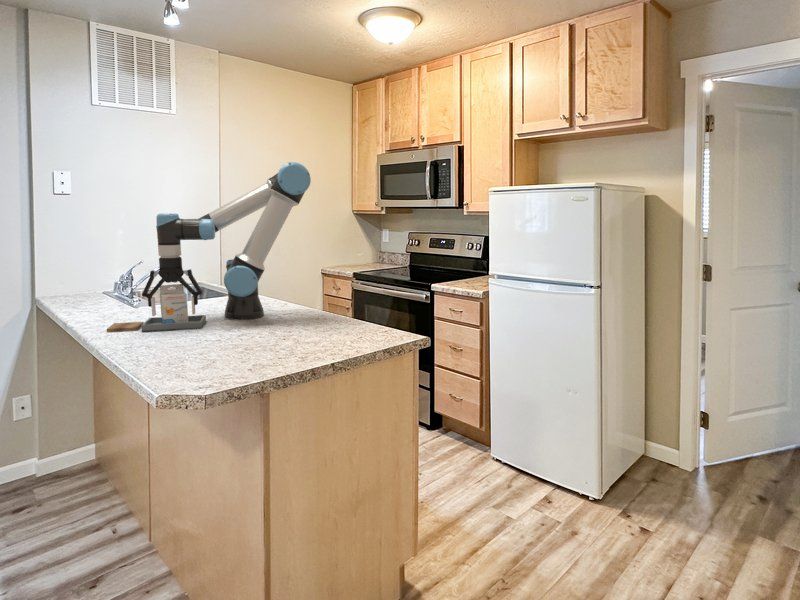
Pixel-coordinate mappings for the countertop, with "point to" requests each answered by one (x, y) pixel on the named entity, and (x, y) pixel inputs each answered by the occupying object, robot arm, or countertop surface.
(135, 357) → the countertop surface
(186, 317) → the ink box
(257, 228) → the robot arm
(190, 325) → the tray
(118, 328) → the board
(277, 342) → the countertop surface
